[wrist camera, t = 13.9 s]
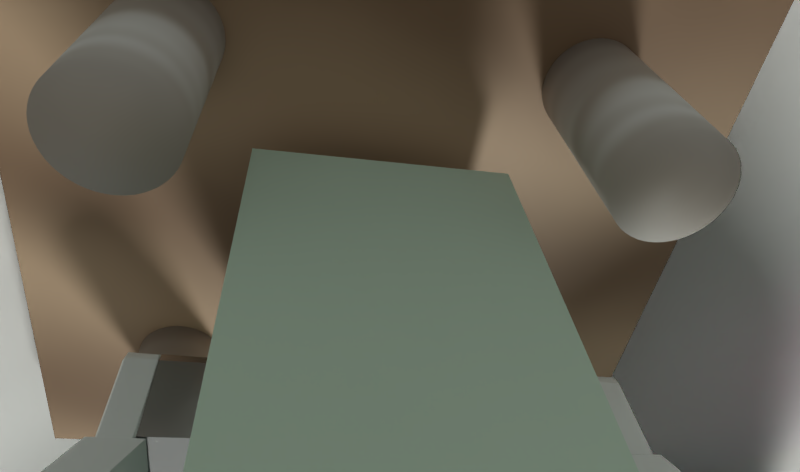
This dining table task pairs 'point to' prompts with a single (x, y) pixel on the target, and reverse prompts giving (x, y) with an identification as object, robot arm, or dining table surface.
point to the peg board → (350, 145)
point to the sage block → (393, 331)
